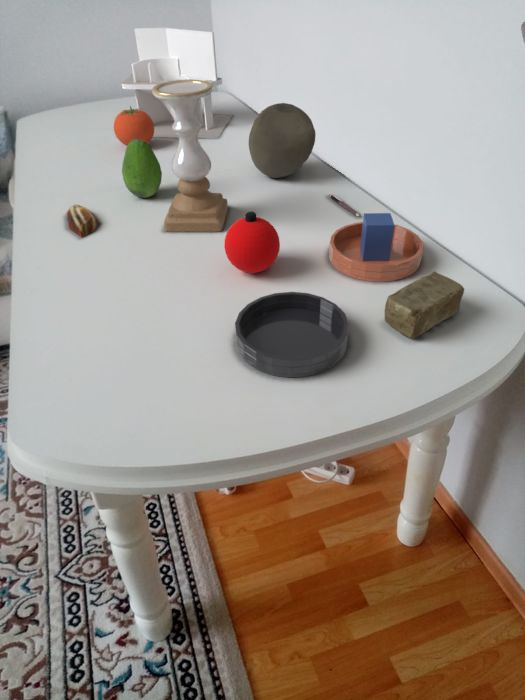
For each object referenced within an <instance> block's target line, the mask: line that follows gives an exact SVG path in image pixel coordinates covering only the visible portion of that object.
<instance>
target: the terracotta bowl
mask: <svg viewBox="0 0 525 700" xmlns="http://www.w3.org/2000/svg"><path fill="white" fill-rule="evenodd" d="M362 225H363V221H360V222H359V221H358V222H354V223H349V224H346V225H344V226H342V227H340V228H338V229H336V230H334V231H335V232H334V233H332V234H331V235H330V240H329V249H328V250H329V251H328V255H329V261H330V263H331V265H332V266H333V267H334V268H335V269H336V270H337V271H338V272H339V273H341V274H343V275H345V276H348V277H350V278H353V279H356V280H359V281H360V280H361V281H366V282H374V283H375V282H377V283H378V282H379V283H381V282H391V281H399V280H401V279H405V278H408V277H409V276H411V275H413V274H414V273H416V271H417V270H418V269H419V267H420V265H421V262H422V257H423V252H424V242H423V240H422V239H421V237H420V236H419V235H418V234H417V233H415V232H414V231H412V230H411V229H409V228H406V227H405V226H401V225H399V224H395V223H394V232H393V239H392V246H391V253H390V260H389V261H363V259H362V255H361V250H360V244H361V235H362Z"/></svg>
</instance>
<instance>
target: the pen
mask: <svg viewBox="0 0 525 700" xmlns="http://www.w3.org/2000/svg"><path fill="white" fill-rule="evenodd" d="M329 197H330V199H332V200H333V201H334V202H335V203H337V204H338V205H339V206H341V207H342V208H344V209H345V210H347V211H348V212H350V213H351V214H353V215H354V216H355V217H361V216H360V214H359V212H358V211H356V210H355V209H353V208H352V207H351V206H350V205H348V204H346V203H345V202H344V201H343V200H342V199H341V198H340V197H339V196H337V195H335V194H333V193H331V194H329Z"/></svg>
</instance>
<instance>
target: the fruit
mask: <svg viewBox="0 0 525 700" xmlns="http://www.w3.org/2000/svg"><path fill="white" fill-rule="evenodd" d="M124 152H125V153H124V156H123V159H122V168H121V174H122V180H123V183H124V185H125V187H126V188H127V190H128V191H129V192H130V193H131V194H132V195H133V196H135V197H137V198H143V199H145V198H146V199H147V198H150V197H152V196H154V195H155V194H156V193H157V192H158V191H159V189H160V187H161V184H162V176H163V173H162V167H161V165H160V162H159V160H158V158H157V156H156V154H155V152H154V151H153V149H152V148H151V145H150V144H149V143H146V142H145V141H143V140H140V139H133V140H131V141H130V143H129V144H128V145H127V146H126V148H125V151H124Z"/></svg>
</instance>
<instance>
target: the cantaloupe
mask: <svg viewBox="0 0 525 700" xmlns="http://www.w3.org/2000/svg"><path fill="white" fill-rule="evenodd" d="M316 133H317V132H316V130H315V127H314V124H313V121H312V119H311V117H310V116H309V115H308V114H307V113H306V112H305V111H304V110H303V109H301V108H300V107H298V106H296V105H294V104H291V103H287V102H281V103H274V104H271V105H270V106H267V107H266V108H264V109H262V110H261V112H260V113H259V114H258V115H257V116H256V117H255V119H254V121H253V124H252V125H251V129H250V132H249V135H248V150H249V155H250V157H251V160H252V163H253V165H254V167H255V168H256V169H257V170H258V171H259V172H260V173H261V174H263V175H265V176H266V177H269V178H272V179H280V178H285V177H288V176H290V175H292V174H294V173H296V172H297V171H298V170H300V169H301V168H302V167H303V165H304V163H306V162H307V161H308V160H309V158H310V156H311V154H312V153H313V149H314V146H315V143H316V135H317V134H316Z"/></svg>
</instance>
